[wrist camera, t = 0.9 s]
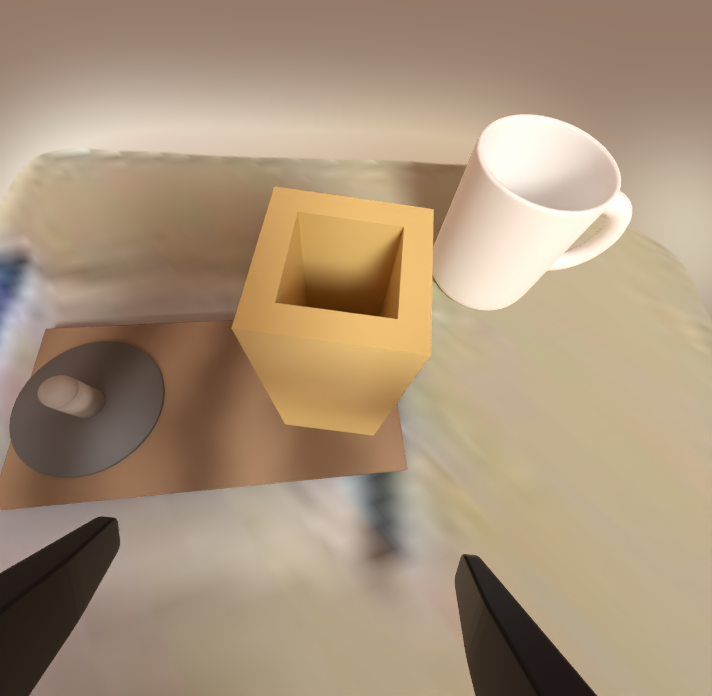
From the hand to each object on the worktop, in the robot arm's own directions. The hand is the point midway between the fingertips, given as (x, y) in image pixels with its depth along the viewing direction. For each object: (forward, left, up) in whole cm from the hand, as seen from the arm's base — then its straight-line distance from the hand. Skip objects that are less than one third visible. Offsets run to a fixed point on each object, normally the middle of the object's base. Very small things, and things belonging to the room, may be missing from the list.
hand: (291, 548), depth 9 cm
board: (+3, +9, -12) cm, 15 cm away
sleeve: (+7, +3, -11) cm, 14 cm away
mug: (+23, -3, -12) cm, 27 cm away
